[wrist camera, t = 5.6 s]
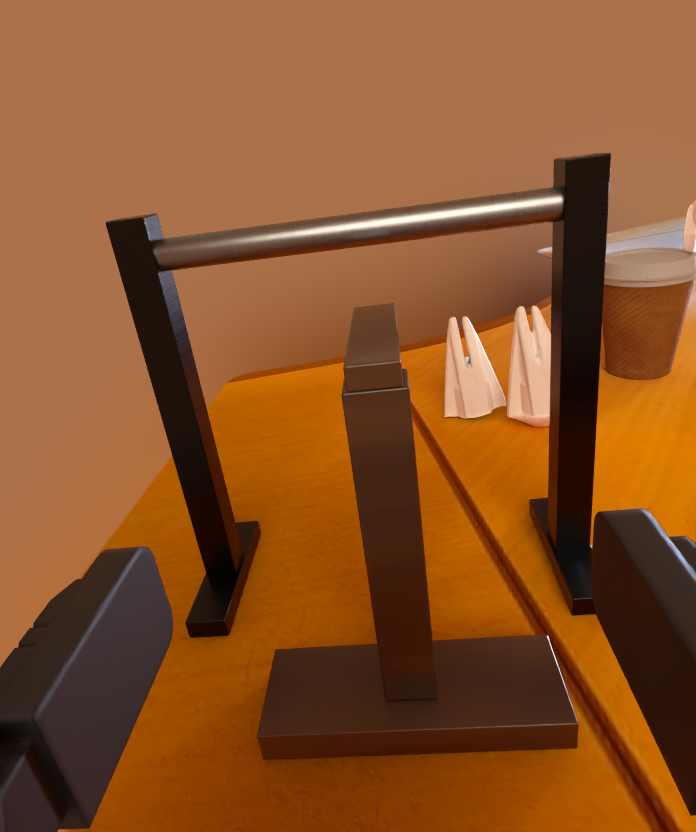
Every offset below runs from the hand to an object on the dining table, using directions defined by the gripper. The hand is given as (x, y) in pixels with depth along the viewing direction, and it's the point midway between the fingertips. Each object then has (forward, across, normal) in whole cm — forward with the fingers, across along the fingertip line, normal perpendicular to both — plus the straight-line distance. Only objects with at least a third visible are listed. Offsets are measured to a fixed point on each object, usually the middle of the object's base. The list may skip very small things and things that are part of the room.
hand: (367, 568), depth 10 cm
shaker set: (+42, -10, +18) cm, 47 cm away
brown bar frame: (+14, 0, +18) cm, 22 cm away
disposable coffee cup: (+52, -26, +18) cm, 61 cm away
